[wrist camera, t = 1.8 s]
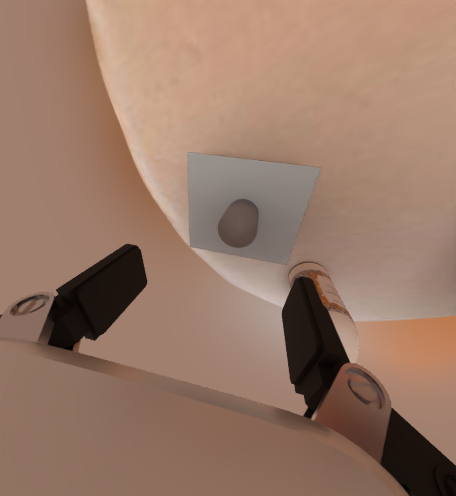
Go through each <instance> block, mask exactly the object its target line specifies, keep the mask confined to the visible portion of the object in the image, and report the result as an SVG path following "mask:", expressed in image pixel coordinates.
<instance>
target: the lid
mask: <svg viewBox="0 0 456 496" xmlns="http://www.w3.org/2000/svg"><path fill="white" fill-rule="evenodd" d="M187 159H188V195H189V232H190V247H193V248H199V249H204V250H209V251H215V252H220V253H225V254H230V255H236V256H241V257H246V258H252V259H257V260H262V261H268V262H273V263H278V264H284V265H287V263H288V260H289V257H290V254H291V251H292V248H293V246H294V243H295V240H296V237H297V234H298V231H299V229H300V226H301V223H302V220H303V217H304V214H305V212H306V209H307V206H308V203H309V200H310V197H311V194H312V192H313V189H314V186H315V183H316V180H317V177H318V175H319V172H320V169H321V168H320V167H312V166H303V165H295V164H286V163H278V162H269V161H260V160H252V159H243V158H235V157H226V156H218V155H209V154H200V153H192V152H187Z"/></svg>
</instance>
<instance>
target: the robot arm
mask: <svg viewBox="0 0 456 496" xmlns="http://www.w3.org/2000/svg"><path fill="white" fill-rule="evenodd" d="M146 285H147V278H146V273H145V268H144V264H143V259H142V254H141V250H140V249H139V247H138V246H136V245H131V244H126V245H124V246H122V247H121V248H119V249H118V250H116V251H115V252H113V253H112V254H110V255H108V256H107V257H105V258H104V259H103V260H101V261H99V262H98V263H96V264H95V265H93V266H92V267H90V268H88V269H87V270H85V271H84V272H82V273H81V274H79V275H78V276H76V277H75V278H73V279H72V280H70V281H69V282H67V283H65V284H64V285H62V286H61V287H59V288H58V289H56V291H57V292H58V295H57V296H56V297H55V296H54V295H53V293H50V292H40V293H35V294H32V295H28V296H26V297H24V298H21V299H20V300H18V301H16V302H14V303H13V304H12V305H10V306H9V307H8V308H7V309H6V311H5V312H4V314H2V315H0V496H456V465H454V464H453V463H452V462H451V461H450V460H449V459H448V458H447V457H445V456H444V455H443V454H442V453H441V452H440V451H439V450H438V449H437V448H436V447H434V446H433V445H432V444H431V443H430V442H429V441H428V440H427V439H426V438H425V437H423V436H422V435H421V434H420V433H419V432H418V431H417V430H416V429H415V428H414V427H412V426H411V425H410V424H409V423H408V422H407V421H406V420H405V419H403V417H401V416H400V415H399V414H398V413H397V412H396V411H395V410H394V409H393V408H391V401H390V398H389V395H388V393H387V391H386V390H385V388H384V386H383V385H382V384H381V382H380V381H379V380H378V379H377V378H376V377H375V376H374V375H373V374H372V373H371V372H370V371H368V370H367V369H365V368H364V367H362V366H360V365H357V364H355V363H350V360H349V358H348V356H347V353H346V351H345V349H344V346H343V344H342V342H341V339H340V337H339V335H338V333H337V330H336V328H335V326H334V323H333V321H332V319H331V316H330V314H329V312H328V309H327V308H326V306H324V305H323V304H322V301H321V299H320V297H319V294H318V292H317V289H316V287H315V285H314V282H313V280H312V278H309V277H303V276H300V277H299V278H295V280H294V283H293V285H292V288H291V290H290V293H289V295H288V297H287V300H286V302H285V305H284V307H283V310H282V319H283V328H284V336H285V342H286V351H287V358H288V367H289V374H290V381H291V383H292V384H294V385H295V392H296V393H299V394H302V395H304V399H305V403H306V405H307V406H306V408H305V410H304V412H303V414H302V415H301V416H300V415H297V414H295V413H292V412H289V411H286V410H283V409H279V408H276V407H273V406H269V405H266V404H263V403H259V402H256V401H252V400H249V399H246V398H242V397H239V396H235V395H232V394H228V393H224V392H220V391H217V390H213V389H210V388H206V387H202V386H199V385H195V384H192V383H188V382H185V381H181V380H177V379H174V378H170V377H166V376H162V375H159V374H155V373H152V372H148V371H144V370H141V369H137V368H133V367H130V366H126V365H122V364H119V363H115V362H111V361H107V360H103V359H100V358H96V357H92V356H88V355H84V354H81V353H78V351H79V346H80V340H81V339H82V338H83V336H85V338H87V339H91V340H94V341H95V340H96V339H97V338H98V337H99V336H100V335H102V334H104V333H105V332H106V330H108V328H109V327H110V326H111V325H112V324H113V323H114V322H115V320H116V319H117V318H118V317H119V316H120V315H121V314H122V313H123V312H124V310H125V309H126V308H127V307H128V306H129V305H130V304H131V302H132V301H133V300H134V299H135V298H136V297H137V296H138V294H139V293H140V292H141V291H142V290H143V289H144V288H145V287H146Z"/></svg>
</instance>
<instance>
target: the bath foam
mask: <svg viewBox="0 0 456 496" xmlns="http://www.w3.org/2000/svg"><path fill="white" fill-rule="evenodd" d="M300 276H303V277H309V278H312V280H313V282H314V285H315V287H316V289H317V292H318V294H319V297H320V299H321V301H322V304H323V305H324V306H326V308H327V309H328V312H329V314H330V316H331V319H332V321H333V323H334V326H335V328H336V330H337V333H338V335H339V337H340V339H341V342H342V344H343V346H344V349H345V351H346V353H347V356H348V358H349V360H350V363H355V364H356V360H357V356H358V351H359V337H358V333H357V329H356V327H355V324H354V322H353V320H352V318H351V316H350V314H349V312H348V311H347V309H346V307H345V305H344V303H343V301H342V300H341V298H340V296H339V294H338V292H337V290H336V288H335V287H334V285H333V283H332V281H331V279H330V277H329V276H328V274H327V272H326V270H325V269H324V268H323V267H322V266H320V265H318V264H315V263H303V264H300V265H297V266H296V267H295V268H293V269H292V271H291V272H290V274H289V282H290V287H291V288H292V285H293V283H294V280H295V278H299V277H300Z"/></svg>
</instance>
